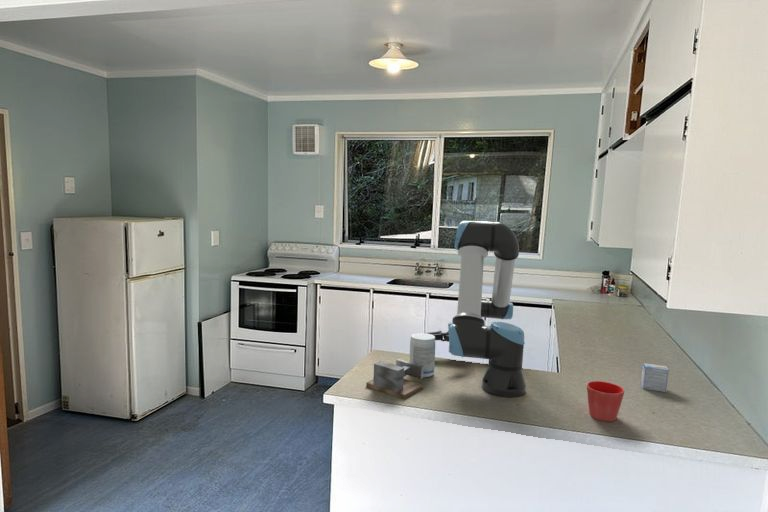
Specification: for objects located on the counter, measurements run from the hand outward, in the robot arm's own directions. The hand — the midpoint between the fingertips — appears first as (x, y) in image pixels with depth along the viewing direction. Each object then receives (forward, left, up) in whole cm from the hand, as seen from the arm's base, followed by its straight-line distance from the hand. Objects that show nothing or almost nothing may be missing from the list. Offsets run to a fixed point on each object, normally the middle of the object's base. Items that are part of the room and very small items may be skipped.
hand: (434, 345), depth 190 cm
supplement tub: (0, +9, -9) cm, 13 cm away
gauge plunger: (0, +20, -7) cm, 21 cm away
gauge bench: (0, +27, -9) cm, 29 cm away
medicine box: (-73, -36, -9) cm, 82 cm away
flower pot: (-63, +2, -9) cm, 64 cm away
